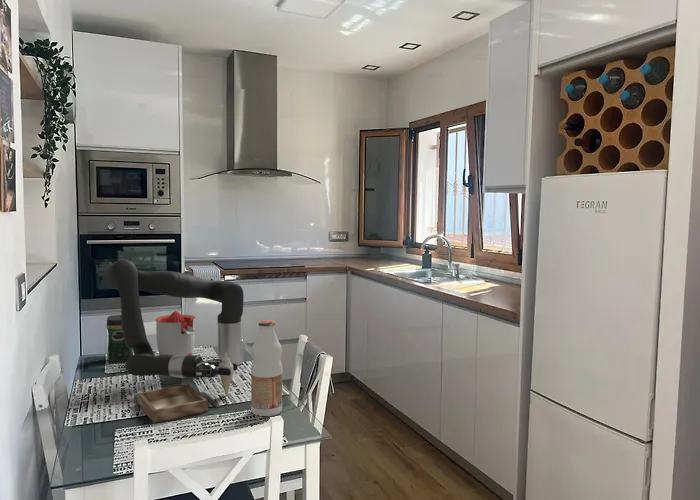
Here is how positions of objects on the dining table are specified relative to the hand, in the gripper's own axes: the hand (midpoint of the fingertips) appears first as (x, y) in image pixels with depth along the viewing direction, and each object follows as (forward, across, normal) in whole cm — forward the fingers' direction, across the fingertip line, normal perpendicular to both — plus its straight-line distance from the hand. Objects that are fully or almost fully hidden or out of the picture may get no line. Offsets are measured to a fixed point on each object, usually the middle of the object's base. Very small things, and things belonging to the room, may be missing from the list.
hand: (233, 369), depth 172 cm
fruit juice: (+15, -11, +9) cm, 21 cm away
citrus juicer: (-40, +38, +9) cm, 56 cm away
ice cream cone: (-3, 0, +9) cm, 10 cm away
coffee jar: (-62, +31, +9) cm, 70 cm away
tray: (-13, -12, +9) cm, 20 cm away
